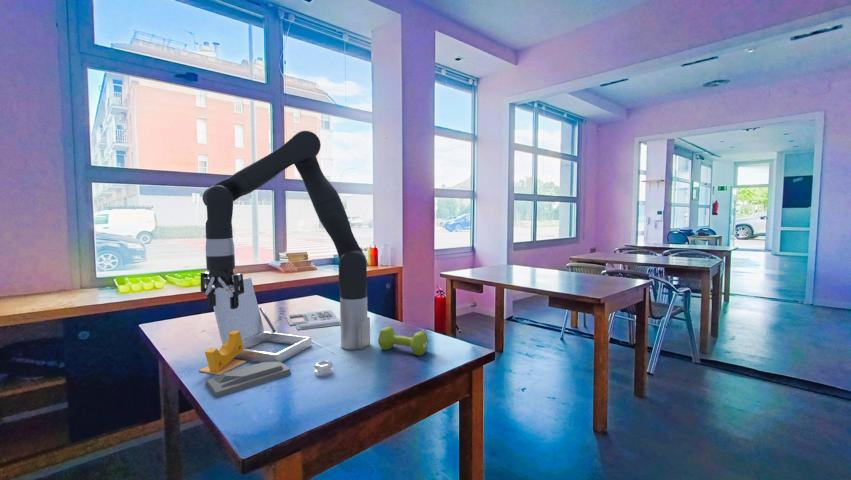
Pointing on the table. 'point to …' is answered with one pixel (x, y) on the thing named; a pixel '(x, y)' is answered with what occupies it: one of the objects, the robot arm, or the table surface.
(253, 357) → the case
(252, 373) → the grey bevelled block
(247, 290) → the lid
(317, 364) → the metal grooved wheel
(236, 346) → the yellow curved stepped piece
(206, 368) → the tan rectangular plate
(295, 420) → the table surface
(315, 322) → the office telephone
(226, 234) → the robot arm
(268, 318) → the rod
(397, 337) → the dumbbell
